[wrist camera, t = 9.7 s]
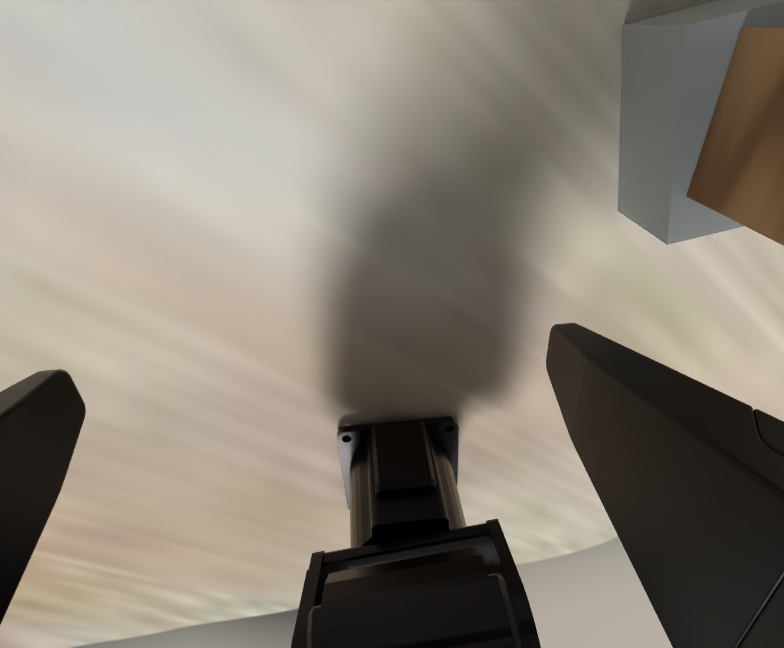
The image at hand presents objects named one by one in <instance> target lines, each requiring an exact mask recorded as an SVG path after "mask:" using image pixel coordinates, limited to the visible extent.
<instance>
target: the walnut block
mask: <svg viewBox="0 0 784 648" xmlns="http://www.w3.org/2000/svg"><path fill="white" fill-rule="evenodd" d="M687 197H688V198H690V199H692V200H694V201H696V202H698V203H700V204H702V205H704V206H706V207H708V208H710V209H712V210H714V211H716V212H718V213H720V214H722V215H724V216H726V217H728V218H730V219H732V220H734V221H736V222H738V223H740V224H742V225H744V226H746V227H748V228H750V229H752V230H754V231H756V232H758V233H760V234H762V235H764V236H766V237H768V238H770V239H772V240H774V241H776V242H778V243H780V244H782V245H784V28H778V27H742V28H741V31H740V34H739V37H738V40H737V43H736V46H735V49H734V52H733V55H732V58H731V61H730V64H729V68H728V71H727V74H726V77H725V80H724V83H723V86H722V89H721V92H720V95H719V98H718V101H717V104H716V108H715V111H714V114H713V117H712V120H711V123H710V126H709V129H708V132H707V135H706V138H705V141H704V144H703V147H702V151H701V154H700V157H699V160H698V163H697V166H696V169H695V172H694V175H693V178H692V181H691V184H690V187H689V191H688V194H687Z"/></svg>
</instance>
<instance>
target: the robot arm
mask: <svg viewBox="0 0 784 648" xmlns="http://www.w3.org/2000/svg"><path fill="white" fill-rule="evenodd" d="M546 367H547V372H548V375H549V378H550V381H551V384H552V387H553V389H554V392H555V395H556V398H557V401H558V404H559V407H560V410H561V412H562V415H563V418H564V421H565V424H566V427H567V429H568V432H569V435H570V437H571V440H572V442H573V444H574V446H575V448H576V451H577V453H578V455H579V457H580V459H581V461H582V463H583V465H584V467H585V469H586V471H587V473H588V475H589V477H590V479H591V481H592V483H593V485H594V487H595V489H596V491H597V493H598V495H599V498H600V500H601V502H602V504H603V506H604V508H605V510H606V512H607V514H608V516H609V518H610V520H611V522H612V524H613V526H614V528H615V530H616V532H617V534H618V536H619V538H620V540H621V542H622V544H623V547H624V549H625V551H626V553H627V555H628V557H629V559H630V561H631V563H632V565H633V567H634V569H635V571H636V573H637V575H638V577H639V579H640V581H641V583H642V585H643V587H644V589H645V591H646V593H647V596H648V598H649V600H650V601H651V604H652V606H653V608H654V610H655V612H656V614H657V616H658V618H659V620H660V622H661V624H662V626H663V628H664V630H665V632H666V634H667V636H668V638H669V640H670V642H671V645H672V647H673V648H784V422H783V421H781V420H779V419H777V418H775V417H773V416H771V415H769V414H766V413H764V412H762V411H760V410H758V409H755V410H753V408H752V407H751V406H749V405H747V404H745V403H743V402H741V401H739V400H737V399H735V398H733V397H730V396H728V395H726V394H724V393H722V392H720V391H718V390H716V389H713V388H711V387H709V386H707V385H705V384H703V383H701V382H699V381H697V380H694V379H692V378H690V377H688V376H686V375H684V374H682V373H680V372H678V371H675V370H673V369H671V368H669V367H667V366H665V365H663V364H661V363H659V362H656V361H654V360H652V359H650V358H648V357H646V356H644V355H642V354H640V353H637V352H635V351H633V350H631V349H629V348H627V347H625V346H623V345H621V344H618V343H616V342H614V341H612V340H610V339H608V338H606V337H604V336H602V335H599V334H597V333H595V332H593V331H591V330H589V329H587V328H585V327H583V326H580V325H578V324H576V323H565V324H556V325H554V326H553V327H552V328H551V331H550V337H549V344H548V351H547V358H546ZM85 412H86V410H85V404H84V401H83V399H82V398H81V396H80V394H79V392H78V390H77V388H76V386H75V384H74V382H73V380H72V378H71V376H70V375H69V373H68V372H66V371H65V370H62V369H58V370H47V371H40V372H37V373H35V374H33V375H31V376H29V377H27V378H25V379H24V380H22V381H20V382H18V383H16V384H14V385H12V386H10V387H9V388H7V389H5V390H3V391H1V392H0V625H1V622H2V620H3V618H4V616H5V614H6V611H7V609H8V607H9V605H10V602H11V600H12V598H13V596H14V594H15V591H16V589H17V587H18V585H19V583H20V580H21V578H22V576H23V574H24V571H25V569H26V567H27V565H28V563H29V560H30V558H31V556H32V554H33V551H34V549H35V547H36V545H37V543H38V540H39V538H40V536H41V534H42V531H43V529H44V527H45V525H46V523H47V520H48V518H49V516H50V514H51V511H52V509H53V507H54V505H55V503H56V500H57V498H58V495H59V493H60V491H61V488H62V485H63V482H64V480H65V477H66V474H67V471H68V467H69V464H70V461H71V458H72V455H73V452H74V449H75V446H76V443H77V440H78V437H79V433H80V430H81V427H82V424H83V421H84V418H85ZM449 425H451V426H450V427H446V426H449ZM458 430H459V428H458V424H457V420H456V419H455V418H453V417H441V418H431V419H420V420H410V421H400V422H389V423H379V424H369V425H359V426H348V427H343V428H341V429H339V431H338V433H337V442H338V448H339V454H340V461H341V467H342V474H343V480H344V487H345V493H346V500H347V506H348V509H349V510H350V526H351V548H348V549H343V550H337V551H332V552H327V553H325V551H321V552H315V553H312V557H311V562H310V566H309V570H307V573H306V578H305V582H304V587H303V592H302V596H301V601H300V606H299V610H298V615H297V620H296V625H295V629H294V634H293V639H292V644H291V648H541V647H540V643H539V638H538V634H537V630H536V626H535V622H534V618H533V615H532V612H531V608H530V604H529V601H528V598H527V595H526V592H525V589H524V586H523V584H522V581H521V578H520V576H519V573H518V570H517V568H516V565H515V563H514V560H513V558H512V555H511V552H510V550H509V547H508V545H507V542H506V539H505V537H504V534H503V532H502V529H501V526H500V524H499V521H498V519H493V520H488V521H486V523H483V524H478V525H472V526H467V527H466V523H465V519H464V514H463V510H462V506H461V502H460V498H459V494H458V490H457V466H458ZM346 435H347V436H349V437H344V436H346Z"/></svg>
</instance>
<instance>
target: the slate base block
mask: <svg viewBox="0 0 784 648" xmlns="http://www.w3.org/2000/svg"><path fill="white" fill-rule="evenodd" d="M742 27H778V28H784V0H716V1H712V2H708V3H704V4H701V5H697V6H693V7H689V8H685V9H682V10H678V11H674V12H670V13H666V14H663V15H659V16H655V17H651V18H647V19H644V20H640V21H636V22H632V23H628V24H625V25H623V34H622V72H621V111H620V150H619V189H618V211H619V212H620V213H622V214H623V215H625V216H626V217H628V218H629V219H631V220H632V221H633V222H635V223H636V224H638V225H639V226H641V227H642V228H644V229H645V230H647V231H648V232H649V233H651V234H652V235H654V236H655V237H657V238H658V239H660V240H661V241H663V242H664V243H665V244H667V245H668V244H672V243H676V242H680V241H684V240H689V239H693V238H697V237H701V236H705V235H709V234H713V233H718V232H722V231H726V230H730V229H734V228H738V227H742V226H744V225H742V224H740V223H738V222H736V221H734V220H732V219H730V218H728V217H726V216H724V215H722V214H720V213H718V212H716V211H714V210H712V209H710V208H708V207H706V206H704V205H702V204H700V203H698V202H696V201H694V200H692V199H690V198H688V197H687V194H688V191H689V187H690V184H691V181H692V178H693V175H694V172H695V169H696V166H697V163H698V160H699V157H700V154H701V151H702V147H703V144H704V141H705V138H706V135H707V132H708V129H709V126H710V123H711V120H712V117H713V114H714V111H715V108H716V104H717V101H718V98H719V95H720V92H721V89H722V86H723V83H724V80H725V77H726V74H727V71H728V68H729V64H730V61H731V58H732V55H733V52H734V49H735V46H736V43H737V40H738V37H739V34H740V31H741V28H742Z"/></svg>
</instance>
